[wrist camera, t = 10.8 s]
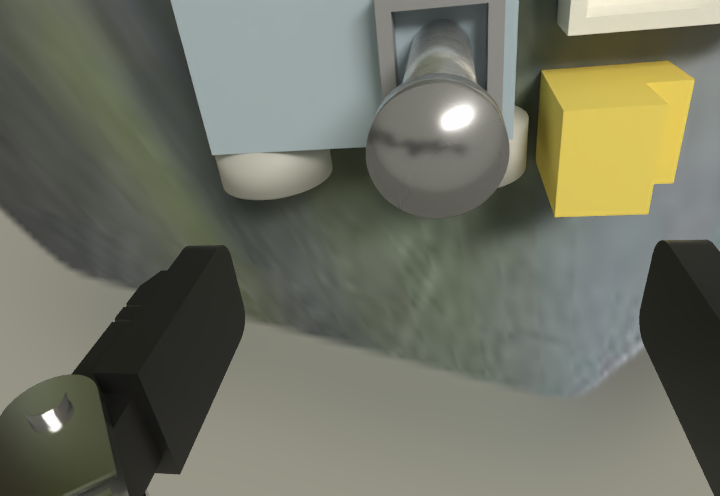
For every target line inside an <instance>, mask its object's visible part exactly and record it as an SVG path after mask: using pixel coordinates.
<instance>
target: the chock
mask: <svg viewBox="0 0 720 496" xmlns="http://www.w3.org/2000/svg"><path fill="white" fill-rule="evenodd" d="M694 81H695V79H693V78H692V77H690V76H689V75H688V74H686V73H685V72H684V71H682V70H681V69H679V68H678V67H677V66H675V65H674V64H672V63H671V62H670V61H655V62H642V63H629V64H616V65H603V66H591V67H578V68H565V69H552V70H541V81H540V97H539V114H538V131H537V147H536V164H537V167H538V170H539V172H540V175H541V178H542V181H543V184H544V187H545V190H546V193H547V196H548V199H549V202H550V205H551V208H552V211H553V214H554V217H574V216H605V215H636V214H648V213H649V207H650V202H651V197H652V191H653V186H654V184H662V183H674V178H675V173H676V168H677V163H678V158H679V154H680V149H681V144H682V139H683V134H684V130H685V125H686V120H687V115H688V110H689V105H690V101H691V96H692V91H693V86H694Z"/></svg>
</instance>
